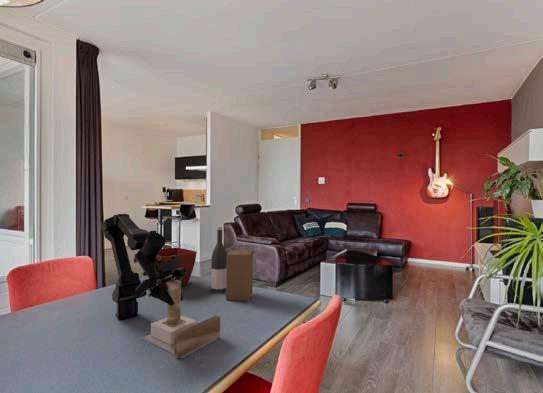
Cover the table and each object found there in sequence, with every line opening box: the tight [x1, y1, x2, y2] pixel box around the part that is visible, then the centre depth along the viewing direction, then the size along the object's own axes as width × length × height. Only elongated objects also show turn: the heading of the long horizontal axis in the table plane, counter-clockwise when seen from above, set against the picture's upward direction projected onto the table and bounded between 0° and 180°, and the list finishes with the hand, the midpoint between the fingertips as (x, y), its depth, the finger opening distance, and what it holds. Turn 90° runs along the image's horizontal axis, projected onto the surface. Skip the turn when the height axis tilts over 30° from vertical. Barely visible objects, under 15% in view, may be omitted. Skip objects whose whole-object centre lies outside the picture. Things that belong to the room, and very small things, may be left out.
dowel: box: [166, 280, 182, 325], centre depth 97 cm, size 4×4×13 cm
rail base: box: [142, 315, 221, 359], centre depth 95 cm, size 18×16×7 cm
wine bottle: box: [210, 226, 228, 294], centre depth 144 cm, size 8×8×30 cm
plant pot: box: [157, 247, 198, 291], centre depth 150 cm, size 19×19×17 cm
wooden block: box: [225, 249, 254, 302], centre depth 135 cm, size 10×10×20 cm
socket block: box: [150, 314, 198, 345], centre depth 97 cm, size 10×10×4 cm
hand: (177, 302), depth 97 cm, fingers closed on dowel, 4 cm apart
